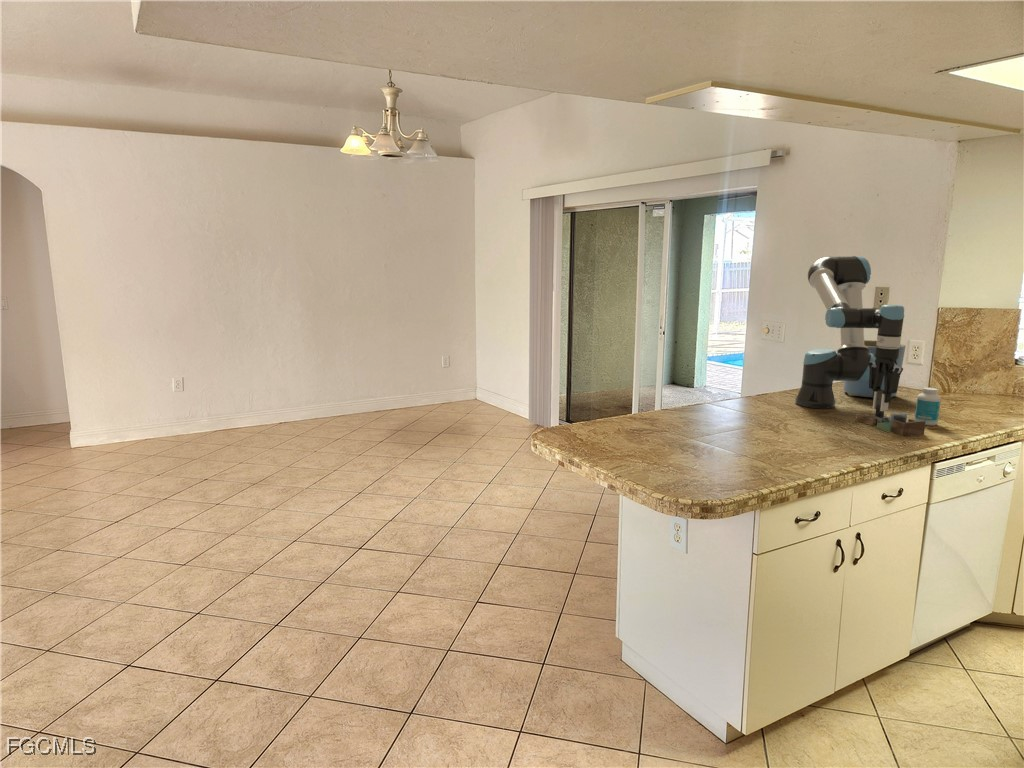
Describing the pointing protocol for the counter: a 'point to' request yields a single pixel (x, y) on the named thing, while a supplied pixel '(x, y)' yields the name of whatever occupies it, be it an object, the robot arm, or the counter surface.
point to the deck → (885, 426)
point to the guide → (866, 418)
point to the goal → (908, 427)
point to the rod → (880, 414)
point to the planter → (863, 386)
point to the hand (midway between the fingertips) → (880, 409)
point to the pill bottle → (928, 406)
